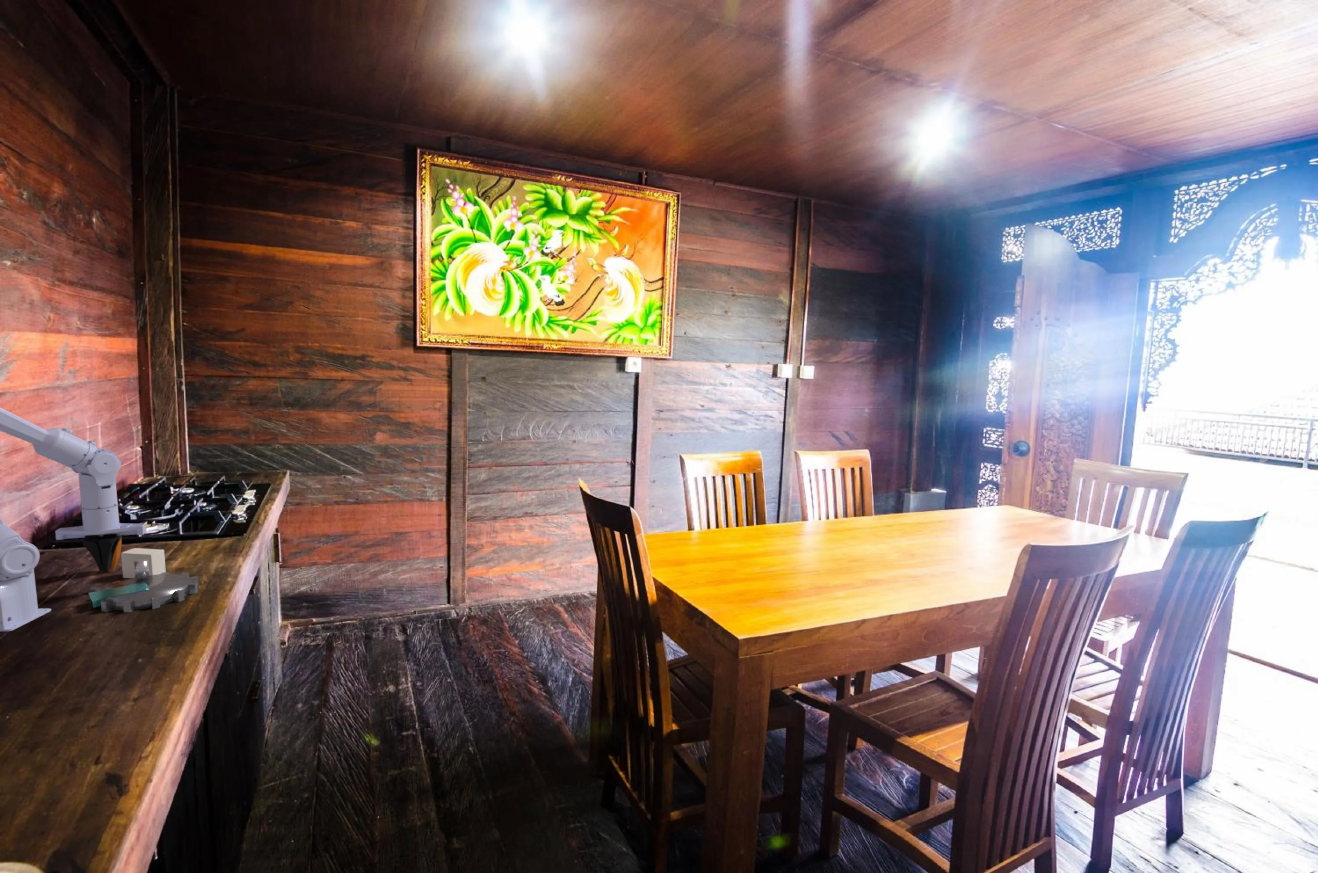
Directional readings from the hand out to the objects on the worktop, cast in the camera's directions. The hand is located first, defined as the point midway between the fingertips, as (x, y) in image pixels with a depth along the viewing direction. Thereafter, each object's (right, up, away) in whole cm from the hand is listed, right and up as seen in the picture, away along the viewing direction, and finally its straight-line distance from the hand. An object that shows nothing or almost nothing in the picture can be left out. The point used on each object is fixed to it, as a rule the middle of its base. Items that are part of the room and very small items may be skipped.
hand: (105, 570), depth 139 cm
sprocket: (+10, -5, -1) cm, 11 cm away
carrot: (-9, -3, +12) cm, 15 cm away
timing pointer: (-1, -5, 0) cm, 5 cm away
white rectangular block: (0, -4, +10) cm, 11 cm away
